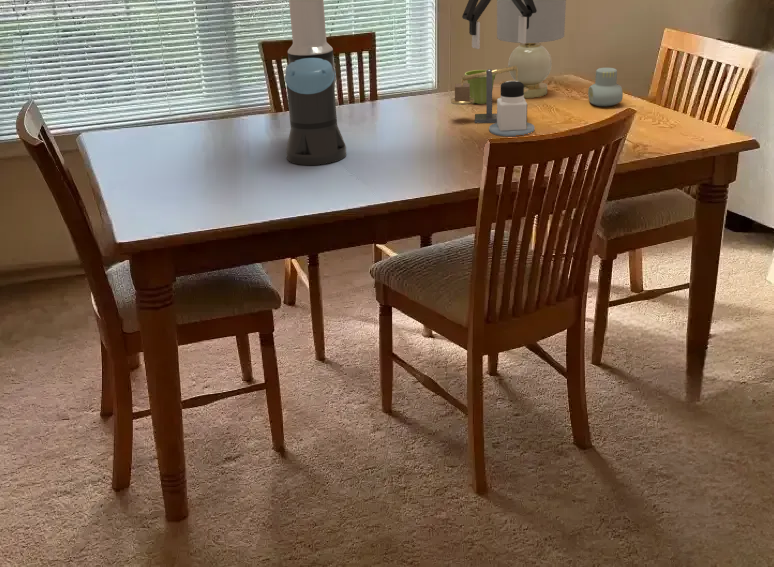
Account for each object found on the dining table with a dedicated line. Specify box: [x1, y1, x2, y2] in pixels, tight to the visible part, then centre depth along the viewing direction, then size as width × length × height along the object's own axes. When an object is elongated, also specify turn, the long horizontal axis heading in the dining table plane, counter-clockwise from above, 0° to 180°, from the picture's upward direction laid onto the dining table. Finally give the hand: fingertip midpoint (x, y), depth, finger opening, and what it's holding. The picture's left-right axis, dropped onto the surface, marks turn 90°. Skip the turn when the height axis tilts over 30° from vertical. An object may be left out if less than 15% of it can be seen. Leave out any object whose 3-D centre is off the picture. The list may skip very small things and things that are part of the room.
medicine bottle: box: [496, 80, 528, 131], centre depth 227 cm, size 7×7×12 cm
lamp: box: [496, 0, 567, 99], centre depth 257 cm, size 20×20×35 cm
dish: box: [488, 122, 536, 137], centre depth 230 cm, size 12×12×1 cm
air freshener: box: [587, 67, 624, 107], centre depth 247 cm, size 11×8×10 cm
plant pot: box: [464, 69, 497, 105], centre depth 257 cm, size 9×9×9 cm
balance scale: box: [450, 66, 528, 124], centre depth 237 cm, size 21×6×15 cm, turn 84°
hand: (499, 45), depth 221 cm, fingers open, 13 cm apart
